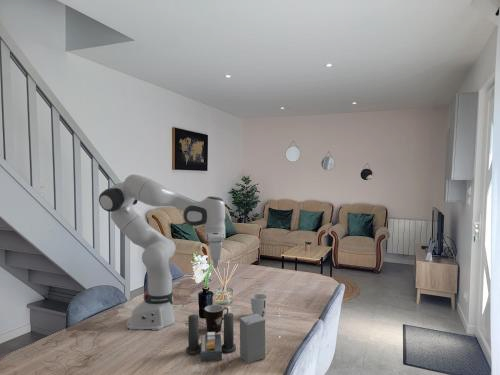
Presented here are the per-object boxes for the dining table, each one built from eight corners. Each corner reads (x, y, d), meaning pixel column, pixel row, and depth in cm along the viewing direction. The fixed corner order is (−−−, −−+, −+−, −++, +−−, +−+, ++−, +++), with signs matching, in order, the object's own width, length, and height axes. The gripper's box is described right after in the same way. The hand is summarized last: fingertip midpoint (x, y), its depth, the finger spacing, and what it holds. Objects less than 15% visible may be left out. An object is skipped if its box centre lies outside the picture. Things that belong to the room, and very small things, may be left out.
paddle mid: (207, 343, 133) (207, 339, 133) (207, 340, 136) (207, 336, 136) (215, 343, 134) (215, 339, 134) (214, 340, 136) (214, 336, 136)
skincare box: (257, 350, 135) (257, 312, 135) (266, 359, 129) (266, 318, 128) (238, 356, 131) (238, 316, 131) (247, 365, 125) (247, 323, 124)
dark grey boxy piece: (200, 361, 127) (200, 351, 127) (201, 343, 141) (201, 334, 141) (222, 360, 128) (222, 350, 128) (220, 342, 142) (220, 333, 142)
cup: (265, 320, 164) (265, 300, 163) (249, 319, 165) (249, 298, 165) (268, 313, 172) (268, 294, 171) (252, 312, 173) (252, 293, 173)
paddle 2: (207, 349, 129) (206, 345, 129) (207, 346, 132) (206, 342, 132) (215, 347, 130) (214, 343, 129) (214, 344, 132) (213, 340, 132)
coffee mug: (206, 335, 148) (205, 313, 148) (203, 327, 157) (203, 305, 156) (231, 332, 151) (231, 310, 151) (227, 324, 160) (227, 303, 159)
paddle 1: (207, 338, 137) (207, 335, 137) (207, 336, 140) (207, 332, 139) (214, 338, 138) (214, 334, 137) (214, 335, 140) (214, 331, 140)
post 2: (221, 353, 133) (221, 318, 133) (220, 345, 139) (220, 312, 139) (236, 352, 134) (236, 317, 134) (235, 344, 140) (235, 311, 139)
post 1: (185, 355, 131) (185, 320, 131) (186, 347, 137) (186, 314, 137) (201, 354, 132) (200, 319, 132) (201, 346, 138) (201, 313, 138)
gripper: (207, 230, 156) (208, 259, 157) (207, 238, 136) (208, 272, 136) (221, 230, 157) (221, 259, 158) (223, 238, 137) (223, 271, 137)
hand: (215, 265), depth 147 cm, fingers open, 5 cm apart
